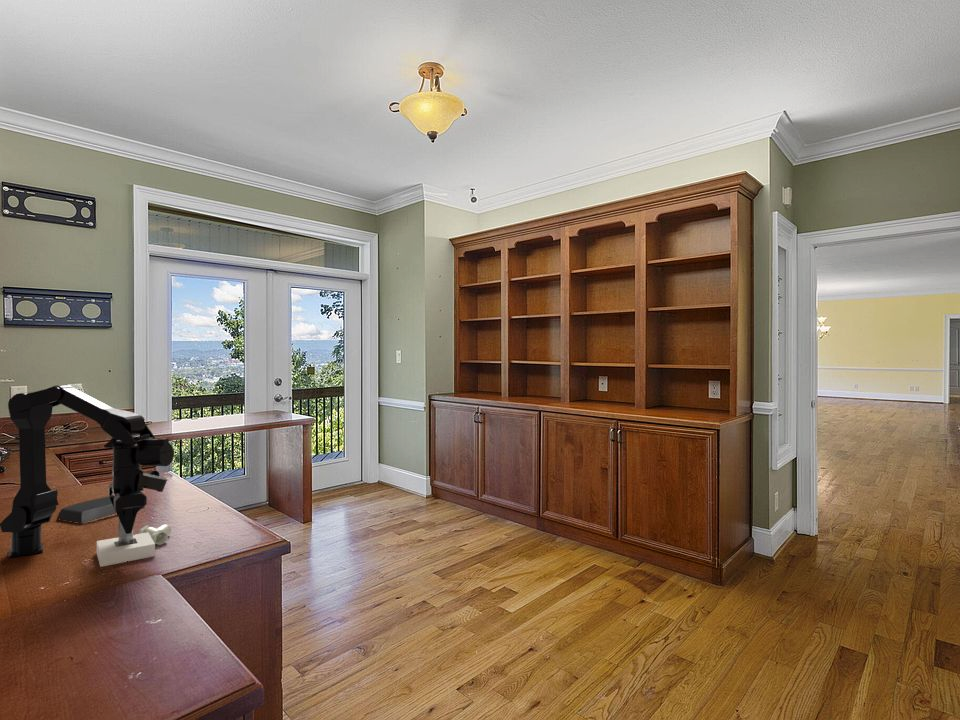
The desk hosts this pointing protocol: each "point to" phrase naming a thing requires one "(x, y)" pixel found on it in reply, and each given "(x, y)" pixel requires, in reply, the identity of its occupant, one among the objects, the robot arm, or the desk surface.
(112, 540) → the hole block
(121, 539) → the metal peg
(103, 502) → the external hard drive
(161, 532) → the pipe fitting
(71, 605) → the desk surface
